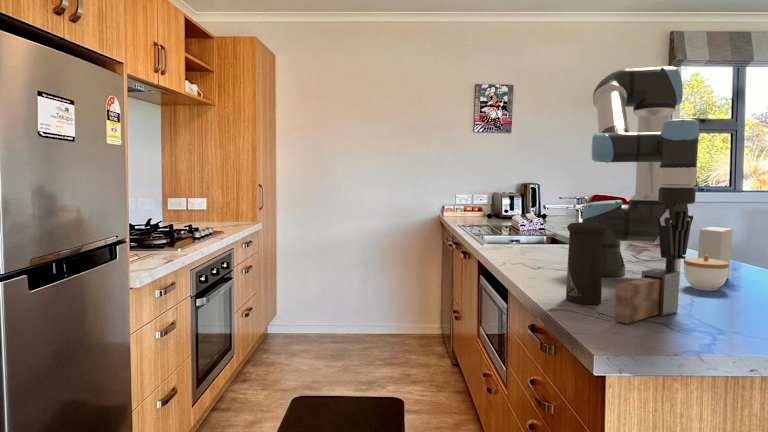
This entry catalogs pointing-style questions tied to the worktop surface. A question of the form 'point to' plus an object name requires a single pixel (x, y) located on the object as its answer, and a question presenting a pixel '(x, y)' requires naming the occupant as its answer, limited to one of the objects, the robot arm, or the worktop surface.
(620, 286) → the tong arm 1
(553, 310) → the worktop surface
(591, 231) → the container
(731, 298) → the worktop surface
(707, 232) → the skincare box
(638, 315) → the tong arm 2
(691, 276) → the lidded jar
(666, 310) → the grey angled block
